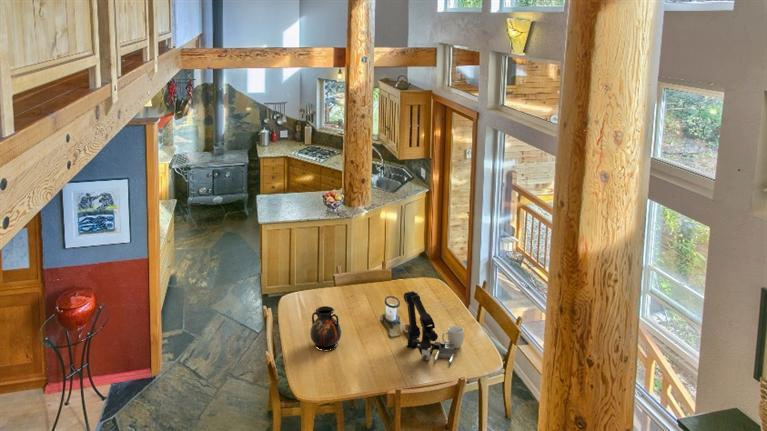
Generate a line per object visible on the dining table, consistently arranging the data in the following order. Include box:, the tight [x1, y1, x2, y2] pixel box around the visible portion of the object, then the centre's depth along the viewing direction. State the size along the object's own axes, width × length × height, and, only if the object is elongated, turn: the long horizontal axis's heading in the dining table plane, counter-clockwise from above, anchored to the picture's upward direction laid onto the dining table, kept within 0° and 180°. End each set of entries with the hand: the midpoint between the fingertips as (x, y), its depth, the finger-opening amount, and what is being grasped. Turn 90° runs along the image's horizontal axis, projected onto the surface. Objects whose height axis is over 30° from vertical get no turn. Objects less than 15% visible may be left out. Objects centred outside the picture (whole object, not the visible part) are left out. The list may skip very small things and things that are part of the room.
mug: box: [441, 325, 465, 349], centre depth 450 cm, size 15×11×13 cm
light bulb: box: [421, 347, 432, 361], centre depth 433 cm, size 6×8×7 cm
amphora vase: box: [309, 305, 342, 351], centre depth 449 cm, size 22×22×28 cm
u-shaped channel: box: [434, 341, 456, 366], centre depth 435 cm, size 14×17×8 cm
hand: (426, 355), depth 434 cm, fingers closed on light bulb, 6 cm apart
